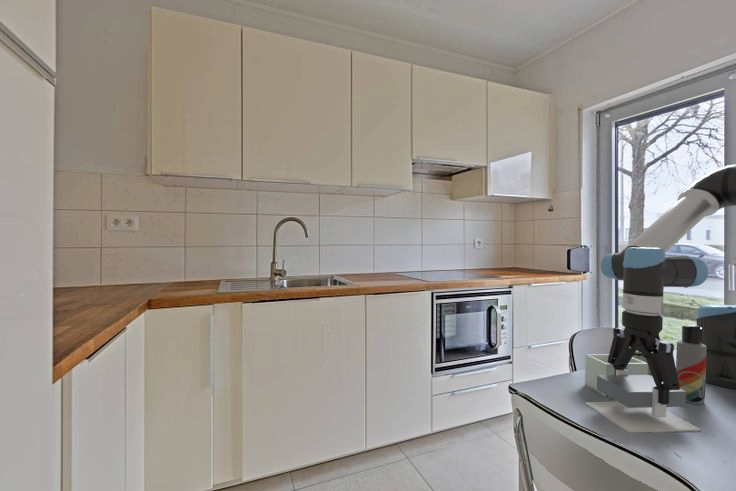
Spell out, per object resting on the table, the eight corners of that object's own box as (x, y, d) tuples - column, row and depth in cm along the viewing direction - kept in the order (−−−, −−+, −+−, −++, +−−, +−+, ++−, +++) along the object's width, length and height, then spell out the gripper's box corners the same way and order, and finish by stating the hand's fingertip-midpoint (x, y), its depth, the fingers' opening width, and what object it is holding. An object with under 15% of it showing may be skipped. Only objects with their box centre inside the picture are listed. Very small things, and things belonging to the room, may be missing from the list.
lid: (648, 388, 85) (648, 374, 85) (685, 406, 76) (686, 391, 76) (596, 389, 84) (597, 375, 84) (628, 407, 75) (629, 392, 75)
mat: (647, 402, 87) (647, 401, 87) (700, 430, 74) (700, 429, 74) (585, 403, 86) (585, 402, 86) (628, 432, 73) (628, 431, 73)
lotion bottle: (694, 406, 86) (697, 328, 86) (669, 396, 91) (672, 323, 91) (710, 403, 87) (712, 327, 87) (684, 393, 93) (686, 322, 93)
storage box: (623, 384, 98) (624, 354, 98) (647, 396, 91) (648, 363, 91) (584, 385, 97) (585, 354, 97) (605, 397, 90) (606, 364, 90)
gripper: (592, 303, 91) (590, 385, 91) (672, 323, 69) (669, 432, 69) (618, 303, 91) (616, 385, 92) (706, 323, 69) (702, 431, 69)
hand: (638, 405), depth 80 cm, fingers closed on lid, 9 cm apart
